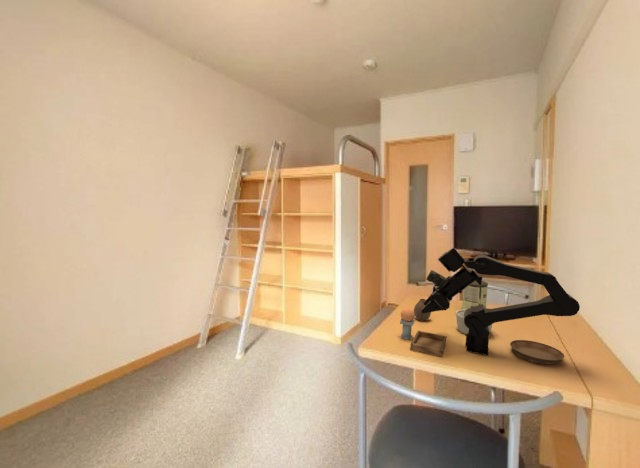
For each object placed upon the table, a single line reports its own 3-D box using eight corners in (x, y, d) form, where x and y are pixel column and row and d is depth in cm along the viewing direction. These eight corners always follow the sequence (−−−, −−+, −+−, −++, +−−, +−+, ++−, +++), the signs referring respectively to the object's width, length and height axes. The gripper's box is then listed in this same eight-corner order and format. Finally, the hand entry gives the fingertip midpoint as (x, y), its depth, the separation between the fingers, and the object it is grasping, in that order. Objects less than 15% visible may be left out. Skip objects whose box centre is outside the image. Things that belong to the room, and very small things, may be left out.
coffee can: (462, 306, 154) (464, 278, 152) (486, 310, 148) (488, 281, 147) (459, 312, 145) (461, 282, 144) (484, 317, 140) (487, 286, 138)
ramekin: (453, 334, 121) (454, 316, 120) (456, 323, 132) (457, 306, 132) (492, 341, 115) (494, 323, 114) (492, 329, 126) (493, 312, 125)
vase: (427, 323, 131) (428, 303, 130) (411, 319, 135) (412, 299, 134) (432, 319, 136) (433, 299, 135) (416, 315, 140) (417, 296, 139)
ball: (415, 320, 117) (416, 307, 117) (412, 324, 113) (413, 311, 112) (402, 317, 120) (402, 305, 119) (398, 322, 115) (399, 308, 115)
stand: (413, 335, 118) (414, 319, 117) (412, 340, 114) (413, 323, 113) (401, 333, 120) (402, 317, 119) (399, 338, 116) (400, 321, 115)
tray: (446, 342, 113) (446, 336, 113) (441, 357, 102) (442, 350, 101) (417, 336, 118) (418, 330, 118) (410, 349, 106) (410, 343, 106)
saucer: (513, 342, 114) (513, 335, 114) (564, 356, 105) (565, 348, 105) (505, 357, 103) (506, 349, 103) (562, 373, 94) (563, 365, 93)
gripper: (442, 259, 118) (410, 285, 124) (440, 268, 101) (403, 297, 107) (464, 283, 116) (430, 307, 121) (465, 296, 99) (427, 324, 104)
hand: (423, 308), depth 114 cm, fingers open, 9 cm apart
